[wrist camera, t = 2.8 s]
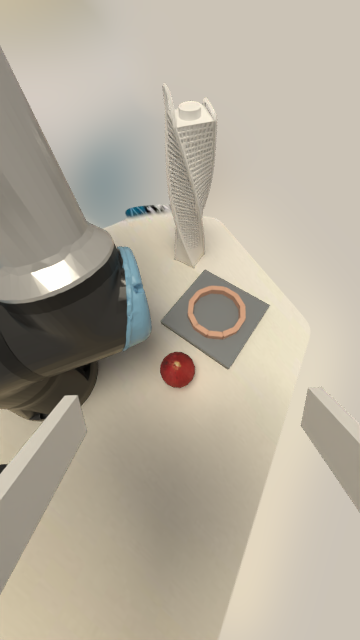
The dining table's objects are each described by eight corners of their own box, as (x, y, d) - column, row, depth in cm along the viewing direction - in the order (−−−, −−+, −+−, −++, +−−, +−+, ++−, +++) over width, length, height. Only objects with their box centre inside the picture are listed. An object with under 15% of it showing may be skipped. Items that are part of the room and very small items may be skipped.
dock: (228, 369, 37) (230, 366, 34) (161, 323, 41) (159, 317, 39) (267, 307, 42) (272, 301, 39) (204, 272, 46) (205, 265, 44)
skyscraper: (167, 260, 48) (142, 92, 23) (182, 240, 51) (177, 70, 26) (195, 273, 46) (202, 105, 21) (210, 252, 49) (233, 79, 24)
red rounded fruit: (157, 381, 36) (149, 373, 29) (171, 353, 38) (167, 339, 31) (186, 395, 35) (185, 390, 28) (198, 365, 37) (201, 354, 30)
